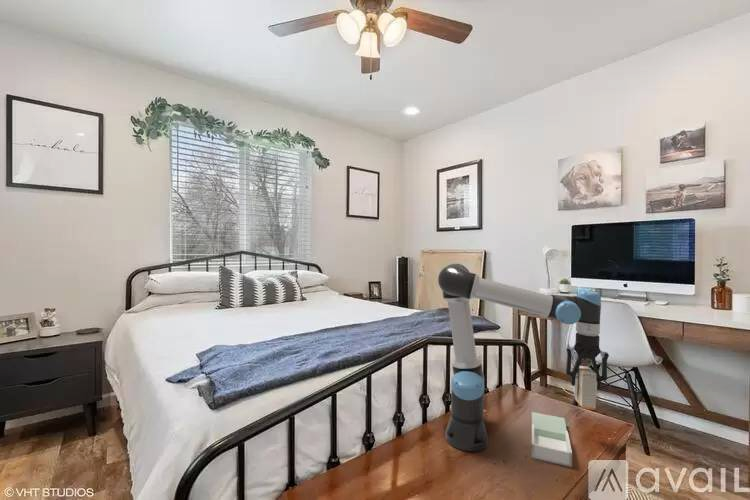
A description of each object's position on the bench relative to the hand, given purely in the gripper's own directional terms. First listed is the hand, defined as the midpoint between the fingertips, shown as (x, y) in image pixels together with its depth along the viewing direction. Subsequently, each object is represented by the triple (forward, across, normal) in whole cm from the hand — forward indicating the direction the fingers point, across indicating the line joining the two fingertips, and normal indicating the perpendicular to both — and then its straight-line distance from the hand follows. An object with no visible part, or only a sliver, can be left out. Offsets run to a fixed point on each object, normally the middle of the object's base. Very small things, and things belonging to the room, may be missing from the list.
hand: (584, 395), depth 129 cm
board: (+17, -11, +3) cm, 21 cm away
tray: (+17, -11, -12) cm, 24 cm away
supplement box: (+3, 0, 0) cm, 3 cm away
